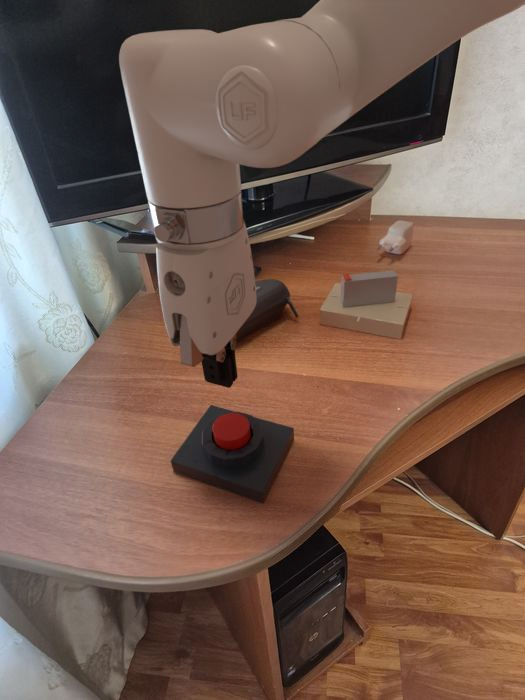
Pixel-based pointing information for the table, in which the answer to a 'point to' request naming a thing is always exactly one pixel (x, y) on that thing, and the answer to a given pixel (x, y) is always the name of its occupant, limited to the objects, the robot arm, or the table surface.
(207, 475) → the switch block
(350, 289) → the grey red-tipped bar
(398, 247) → the power adapter
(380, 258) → the table surface
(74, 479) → the table surface
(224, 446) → the button
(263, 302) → the glasses case
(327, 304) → the base
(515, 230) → the table surface
